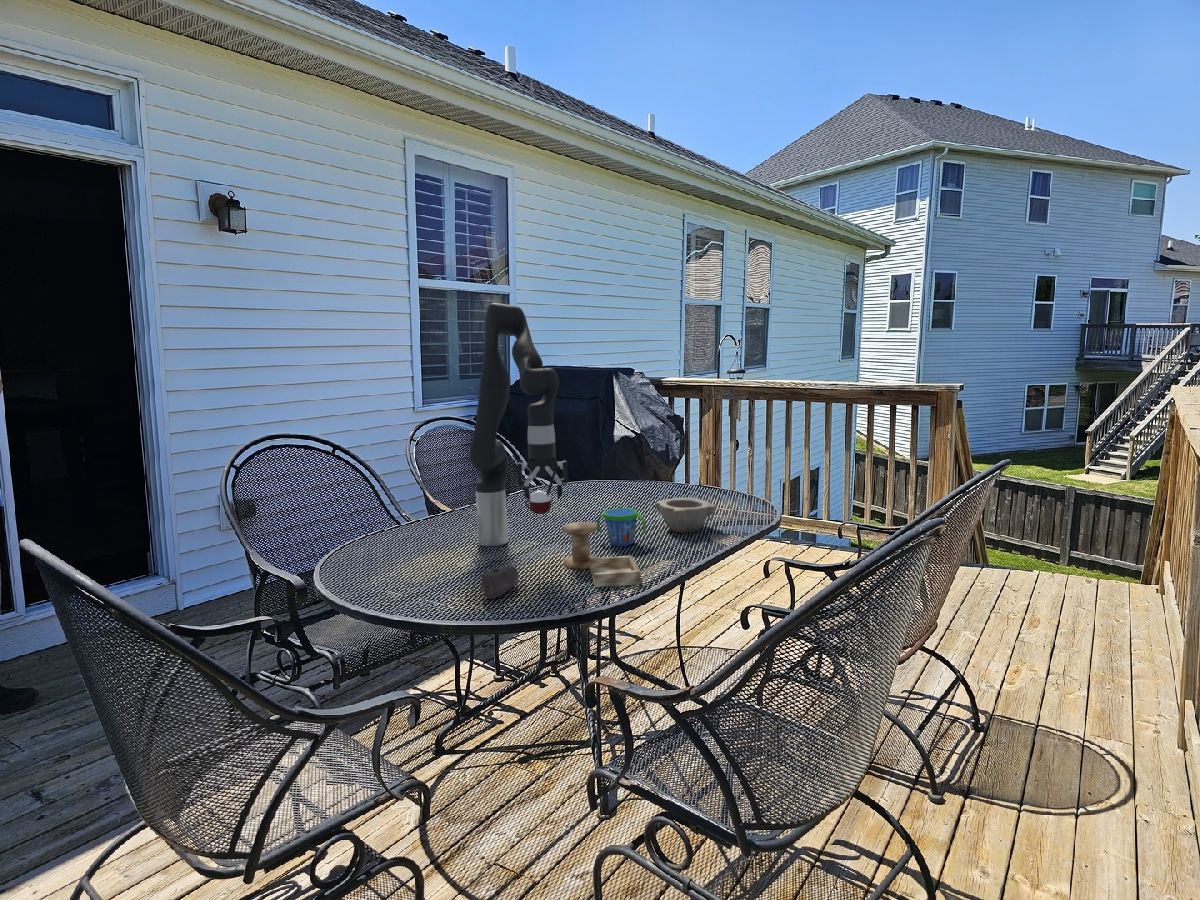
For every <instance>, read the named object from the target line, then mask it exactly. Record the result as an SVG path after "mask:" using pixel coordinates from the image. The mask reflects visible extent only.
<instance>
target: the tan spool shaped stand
mask: <svg viewBox="0 0 1200 900" xmlns="http://www.w3.org/2000/svg"><path fill="white" fill-rule="evenodd" d="M561 527H562V528H561V531H562V533H564V534H566V535H570V536H571V556H569V557H566V558H565V559H563V566H564V567H565V568H567V569H572V570H587V569H589V570H590V558H598V557H597V556H593V555H591V553H590V534H592V533H595V532H596V531H597V523H594V522H590V521H578V522H577V521H575V522H569V523H565V524H564V525H562V526H561Z"/></svg>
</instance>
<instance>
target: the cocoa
mask: <svg viewBox="0 0 1200 900" xmlns="http://www.w3.org/2000/svg"><path fill="white" fill-rule="evenodd" d="M557 473H558V471H557V470H554V472H553V475H552V477H551V479H550V483H549V484H548V485H549V486H548V487H547V491H544V490H539V489H538V490H536V491H534V492H533V493H530V500H525V501H524V504H525V506H526V508H527V509H529V510H530V511H531V512H532V513H533V514H536V515H544V514H547V513H548V512H550V510H551V508H552V507H551V506H552V495H551V494H550V493H551V490H552V489H553V485H554V482H555V480H554V477H555V475H556V474H557ZM528 503H529V505H528Z"/></svg>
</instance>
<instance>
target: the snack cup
mask: <svg viewBox="0 0 1200 900" xmlns="http://www.w3.org/2000/svg"><path fill="white" fill-rule="evenodd" d="M602 517H603V518H604V521H605V525H606V530H607V536H608V541H609V543H610V544H611V545H612V546H614V547H627V546H630V545H632V544H634V542H635V536H636V535H635V534H636V527H637V526H636V525H637V518H638V519H640V521H641V523H642V534H643V535H645V534H646V531H647V523H646V520H645V518H644V516H643V515H642V514H640V513H639V512H638V511H637V510H636V509H634V508H628V507H625V508H624V507H621V508H620V507H619V508H610V509H607V510H605V511H604V512H603V513H601V514H600V515H599V516H598V518H597V519H596V524H597V533H600V532H601V526H600V520H601V519H602Z"/></svg>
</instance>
